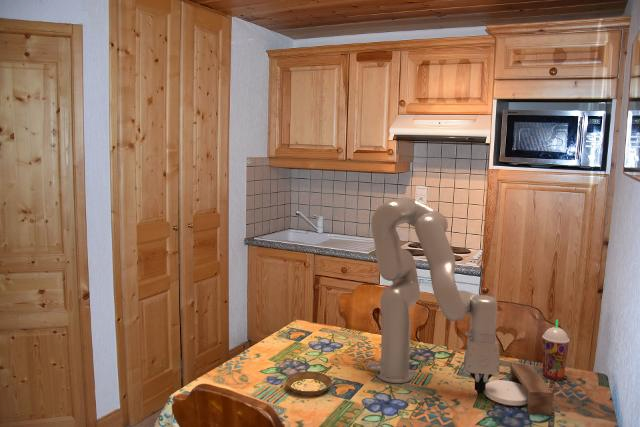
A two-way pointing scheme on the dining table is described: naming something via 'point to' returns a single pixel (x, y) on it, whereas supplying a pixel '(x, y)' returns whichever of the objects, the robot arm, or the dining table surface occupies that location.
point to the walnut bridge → (533, 388)
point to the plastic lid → (506, 392)
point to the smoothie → (555, 352)
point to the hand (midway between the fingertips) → (479, 392)
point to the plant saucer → (309, 375)
